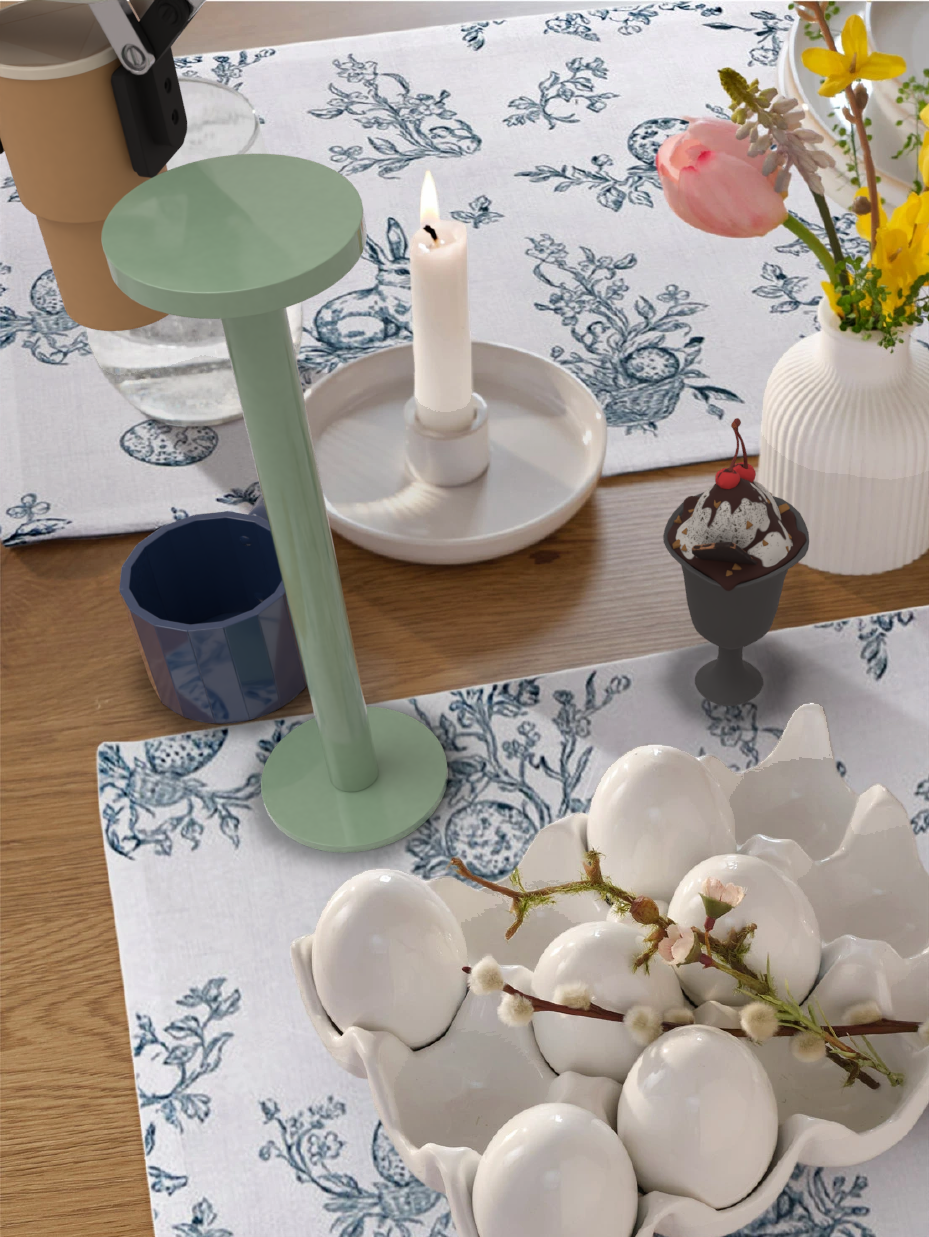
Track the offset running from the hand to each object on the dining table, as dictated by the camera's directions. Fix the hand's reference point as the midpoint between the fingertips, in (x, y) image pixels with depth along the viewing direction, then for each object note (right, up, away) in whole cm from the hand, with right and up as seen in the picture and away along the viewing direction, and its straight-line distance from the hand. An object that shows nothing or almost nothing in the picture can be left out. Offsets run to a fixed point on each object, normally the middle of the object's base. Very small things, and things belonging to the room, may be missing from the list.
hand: (83, 145), depth 62 cm
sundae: (+27, -19, +20) cm, 39 cm away
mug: (+2, -17, +23) cm, 29 cm away
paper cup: (0, -4, +5) cm, 7 cm away
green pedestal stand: (+8, -24, +17) cm, 31 cm away
